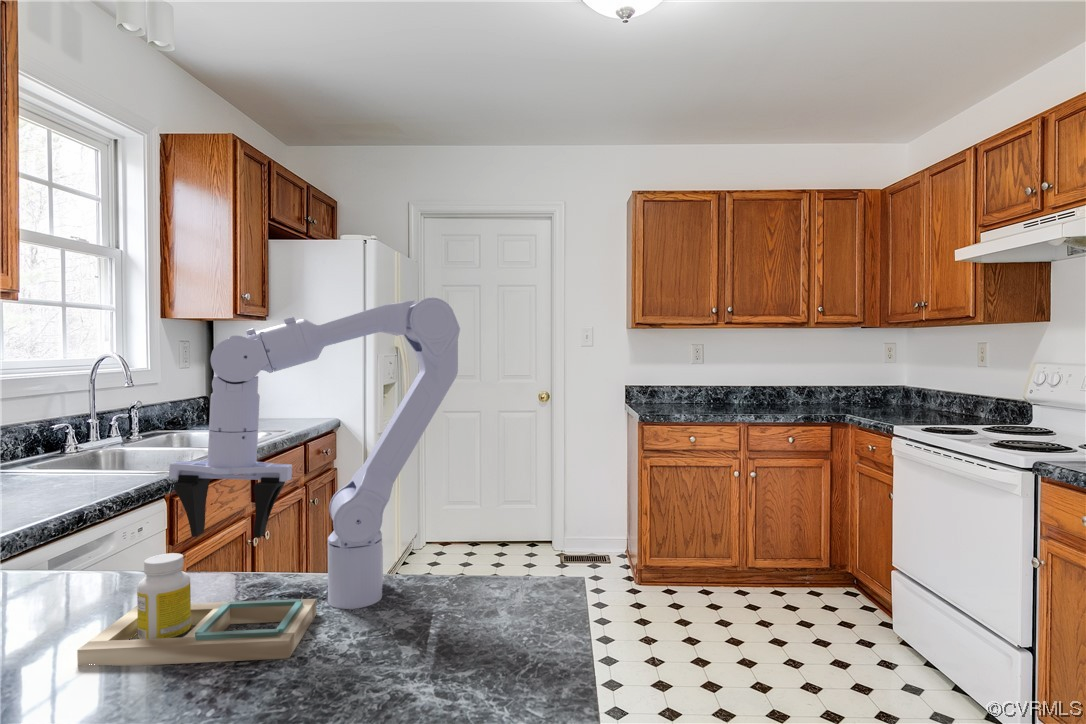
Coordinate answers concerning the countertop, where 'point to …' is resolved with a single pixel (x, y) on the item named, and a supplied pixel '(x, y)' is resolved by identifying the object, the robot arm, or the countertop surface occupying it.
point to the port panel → (207, 635)
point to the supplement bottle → (164, 598)
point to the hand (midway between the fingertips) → (228, 535)
